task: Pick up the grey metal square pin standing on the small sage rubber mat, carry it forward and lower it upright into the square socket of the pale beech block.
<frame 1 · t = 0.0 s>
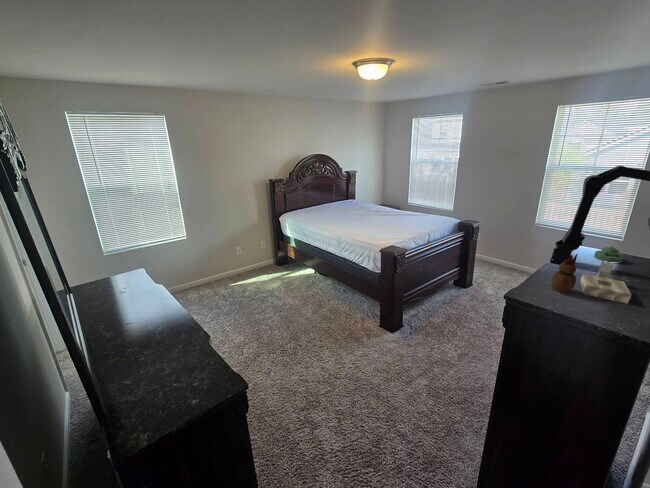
decorative artifact: (607, 259, 144), on the dresser top
wooden figurine: (560, 291, 114), on the dresser top
hole block: (601, 292, 113), on the dresser top
pin: (600, 281, 121), resting on mat
mat: (600, 282, 121), on the dresser top
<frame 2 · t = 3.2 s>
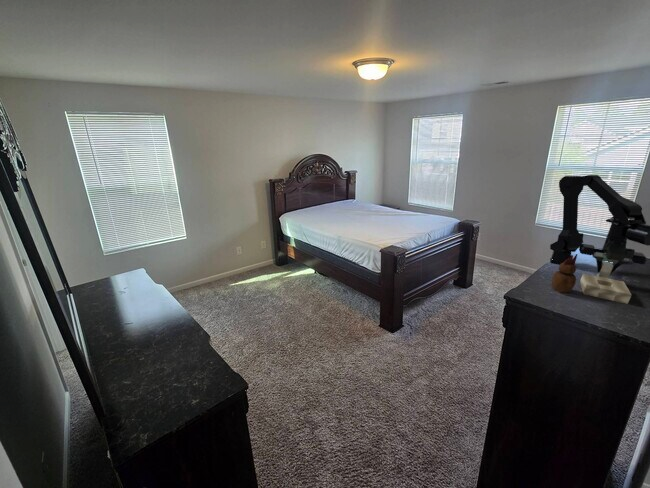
hand: (603, 273, 120), 4 cm above the dresser top, fingers closed on pin, 3 cm apart
pin: (600, 281, 121), resting on mat, touching gripper
everything else where it was.
when the fingers open (5 cm above the dresser top, at t = 6.9 s): pin drops 2 cm, resting in hole block.
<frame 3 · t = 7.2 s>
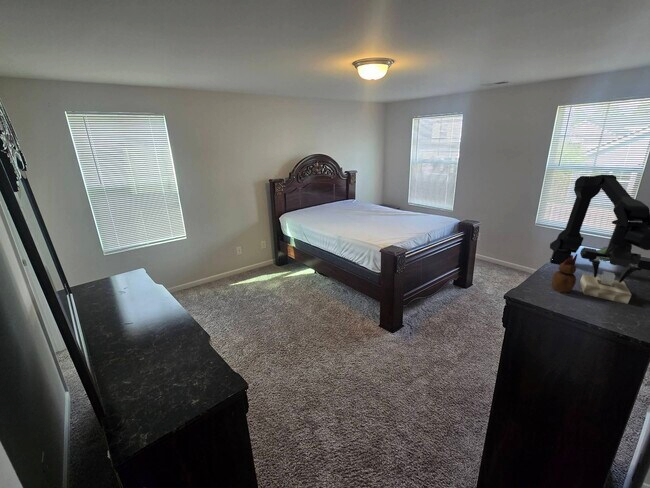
hand: (606, 279, 111), 5 cm above the dresser top, fingers open, 7 cm apart
pin: (601, 292, 113), resting in hole block
everything else where it was.
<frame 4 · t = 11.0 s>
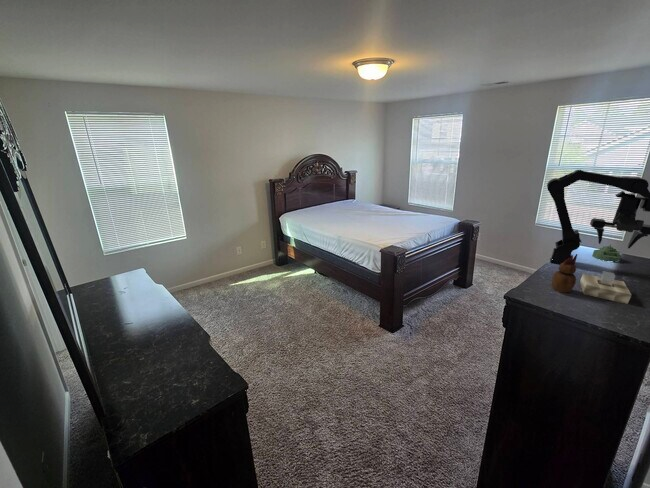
hand: (613, 245, 126), 12 cm above the dresser top, fingers open, 9 cm apart
at the end: pin 0.0 cm off-centre on the hole block, point 0.0 cm above the hole block's base; pin tilted 0°; the gripper is holding nothing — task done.
